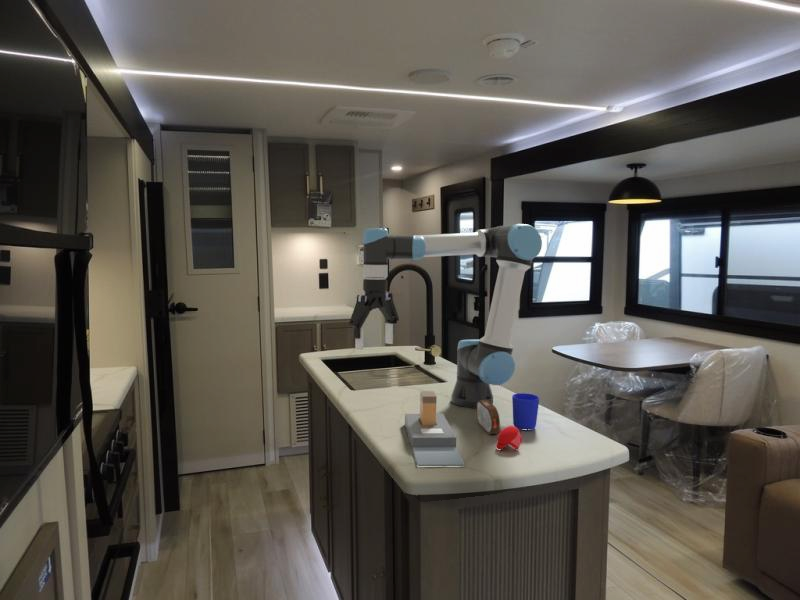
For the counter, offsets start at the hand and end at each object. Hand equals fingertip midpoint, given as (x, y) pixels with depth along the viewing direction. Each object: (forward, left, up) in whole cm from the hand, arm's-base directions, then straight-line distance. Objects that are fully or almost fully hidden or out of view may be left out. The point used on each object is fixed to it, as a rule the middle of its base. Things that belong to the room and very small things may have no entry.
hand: (374, 346), depth 170 cm
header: (-16, +14, -24) cm, 32 cm away
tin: (-35, +8, -25) cm, 43 cm away
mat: (-16, +31, -24) cm, 43 cm away
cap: (-37, +24, -24) cm, 50 cm away
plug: (-16, +11, -24) cm, 31 cm away
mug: (-48, +5, -24) cm, 54 cm away
